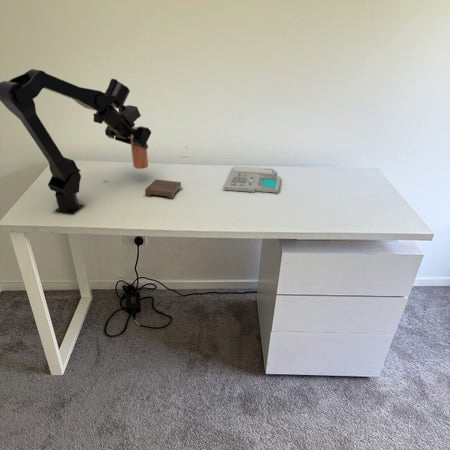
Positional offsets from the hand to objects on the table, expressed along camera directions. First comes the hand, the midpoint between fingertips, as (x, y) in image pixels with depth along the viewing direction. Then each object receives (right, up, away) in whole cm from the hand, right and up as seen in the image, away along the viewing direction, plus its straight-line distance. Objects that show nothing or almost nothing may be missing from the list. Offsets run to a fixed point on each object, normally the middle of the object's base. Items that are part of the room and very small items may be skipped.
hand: (141, 146), depth 142 cm
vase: (-1, -6, +3) cm, 7 cm away
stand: (+9, -18, -2) cm, 20 cm away
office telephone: (+42, -11, +8) cm, 44 cm away
